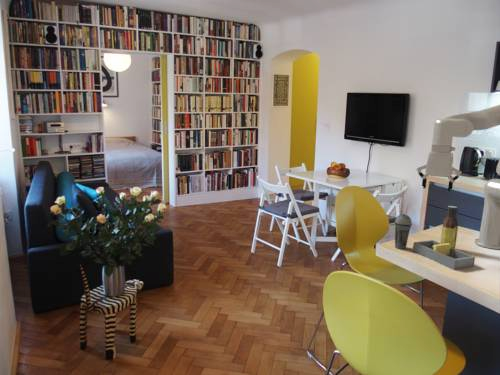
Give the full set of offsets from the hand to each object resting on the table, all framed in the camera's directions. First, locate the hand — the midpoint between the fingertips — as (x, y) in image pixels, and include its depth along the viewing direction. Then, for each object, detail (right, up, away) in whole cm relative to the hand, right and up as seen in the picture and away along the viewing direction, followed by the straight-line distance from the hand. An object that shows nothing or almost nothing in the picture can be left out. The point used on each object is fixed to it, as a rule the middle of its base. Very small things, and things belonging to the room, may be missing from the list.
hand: (436, 189), depth 174 cm
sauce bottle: (+10, -27, +12) cm, 32 cm away
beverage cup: (-11, -27, +11) cm, 31 cm away
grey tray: (+2, -29, 0) cm, 29 cm away
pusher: (+1, -28, +2) cm, 28 cm away
